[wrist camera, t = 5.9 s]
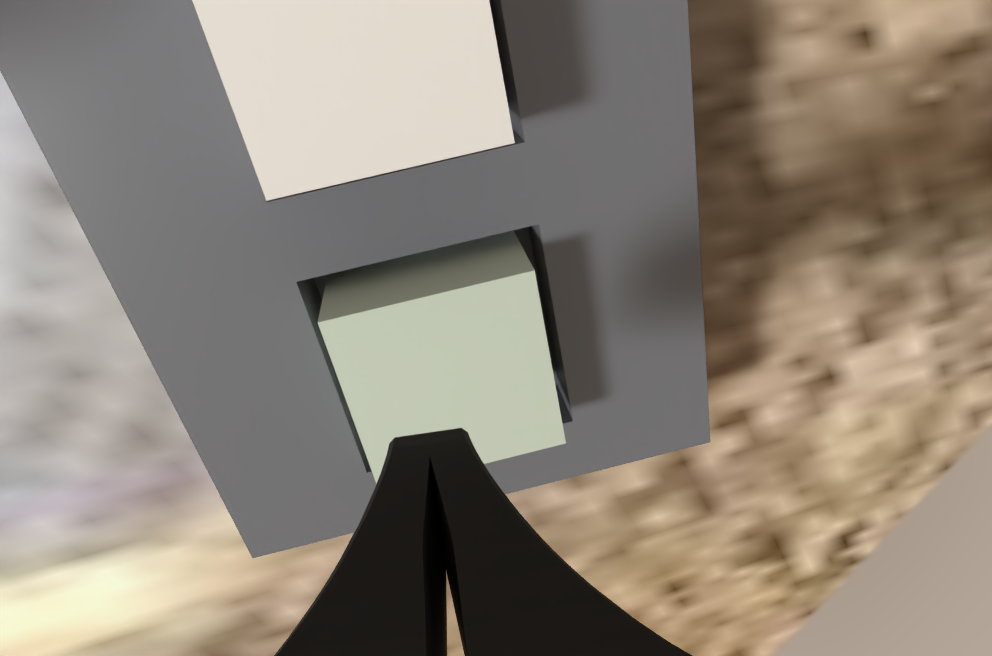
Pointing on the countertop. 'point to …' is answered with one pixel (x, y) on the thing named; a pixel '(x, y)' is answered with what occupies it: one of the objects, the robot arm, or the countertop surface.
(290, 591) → the countertop surface
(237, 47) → the white key
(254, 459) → the keypad
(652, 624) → the countertop surface
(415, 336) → the sage key
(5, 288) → the countertop surface
